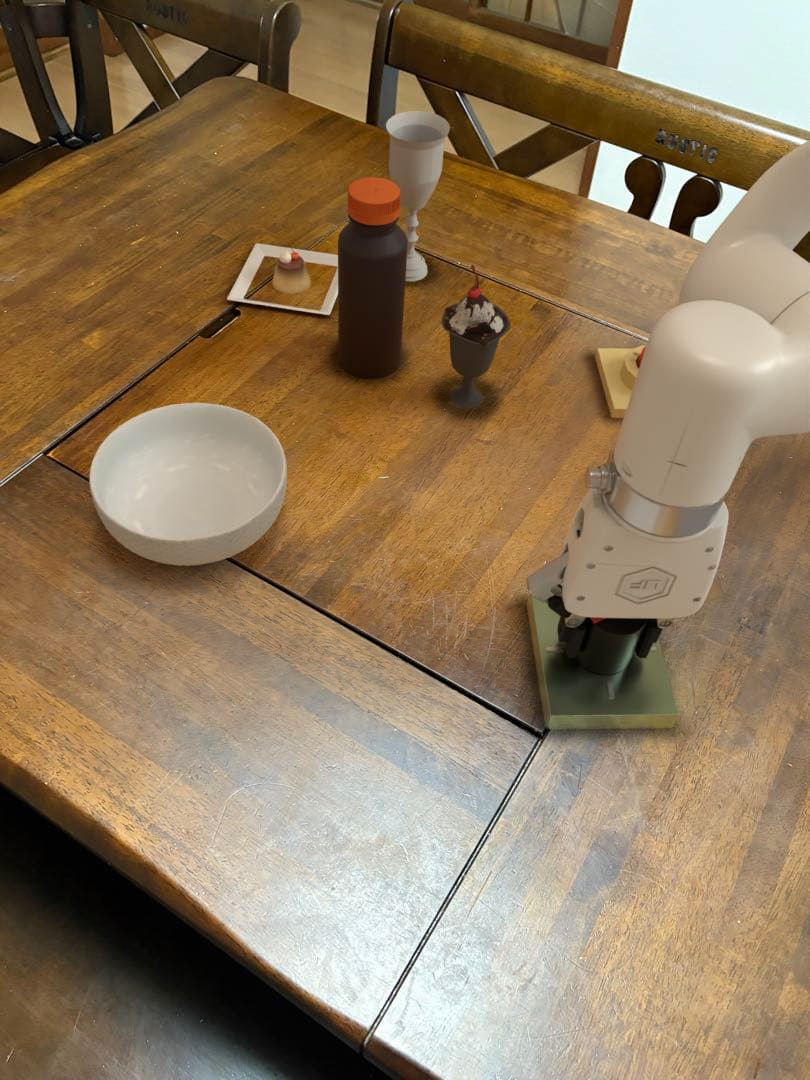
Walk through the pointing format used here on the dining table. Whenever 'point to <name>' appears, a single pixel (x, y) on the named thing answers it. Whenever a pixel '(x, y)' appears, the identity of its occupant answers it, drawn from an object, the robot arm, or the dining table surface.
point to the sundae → (473, 340)
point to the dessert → (286, 275)
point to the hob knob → (609, 643)
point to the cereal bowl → (189, 483)
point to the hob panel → (597, 684)
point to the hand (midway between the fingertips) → (603, 641)
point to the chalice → (416, 170)
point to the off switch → (618, 376)
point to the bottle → (371, 280)
